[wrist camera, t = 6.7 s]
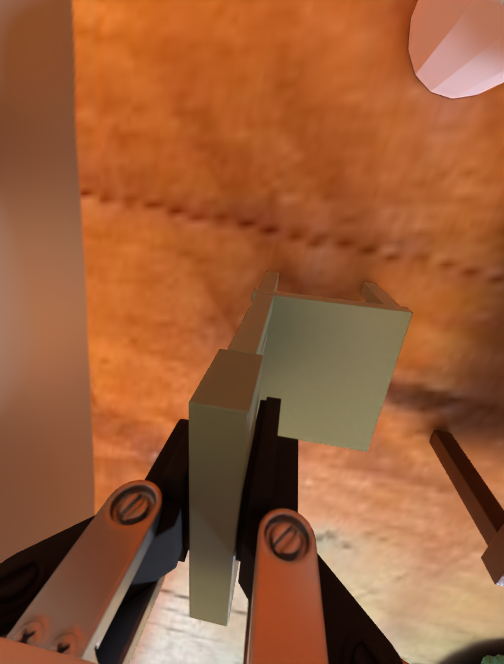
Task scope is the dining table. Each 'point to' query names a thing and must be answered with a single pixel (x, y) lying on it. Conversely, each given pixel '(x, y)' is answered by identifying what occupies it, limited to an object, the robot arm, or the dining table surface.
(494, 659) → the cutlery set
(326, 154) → the dining table surface
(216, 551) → the chair
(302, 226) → the dining table surface
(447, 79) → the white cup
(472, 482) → the model table
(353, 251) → the dining table surface
